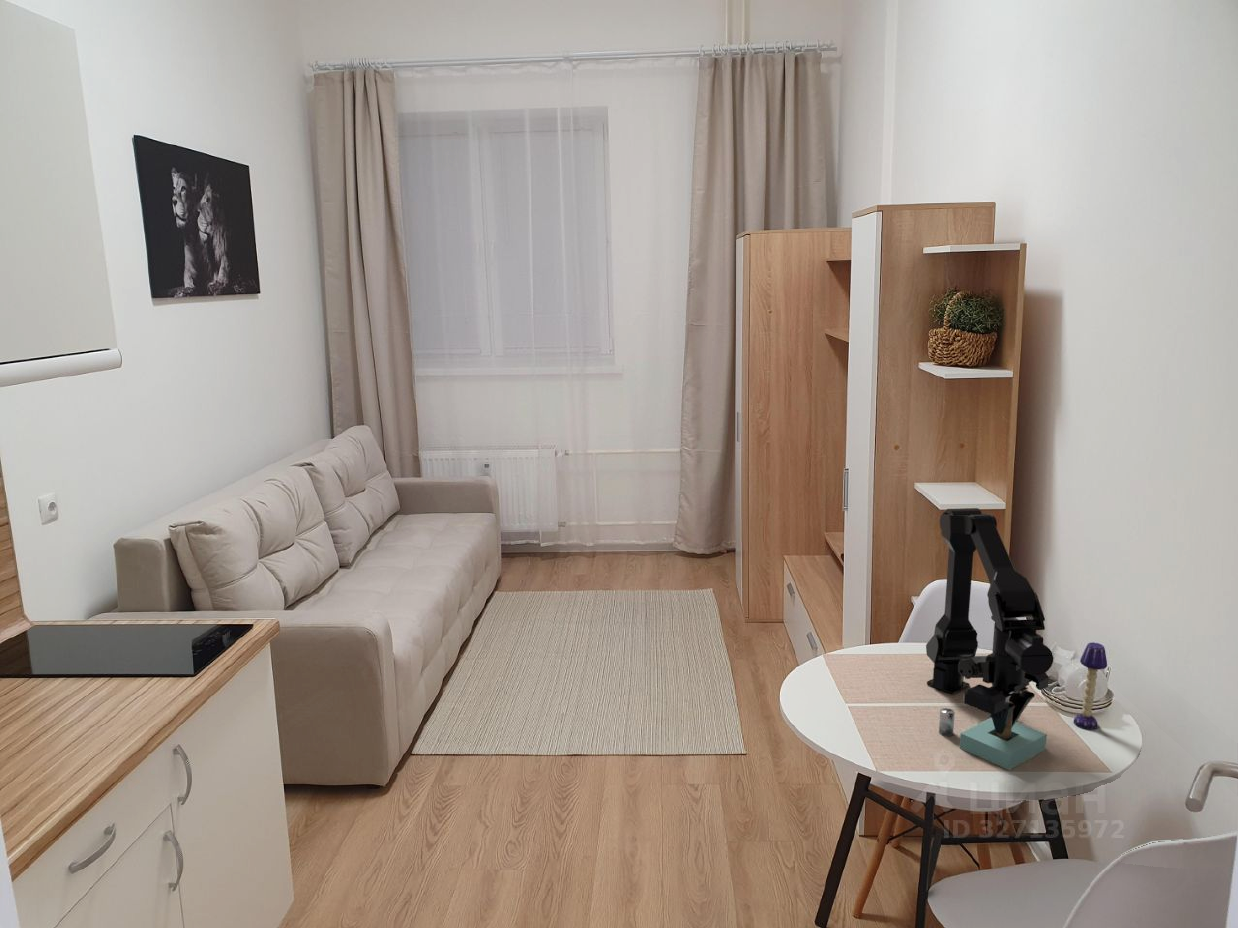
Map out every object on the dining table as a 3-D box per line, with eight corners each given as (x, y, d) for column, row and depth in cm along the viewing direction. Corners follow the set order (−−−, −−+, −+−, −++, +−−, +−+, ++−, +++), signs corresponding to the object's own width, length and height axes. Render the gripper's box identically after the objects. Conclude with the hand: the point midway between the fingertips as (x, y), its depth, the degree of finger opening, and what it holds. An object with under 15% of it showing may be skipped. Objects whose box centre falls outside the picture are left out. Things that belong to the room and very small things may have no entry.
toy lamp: (1099, 721, 184) (1106, 641, 180) (1102, 732, 180) (1110, 650, 176) (1072, 717, 185) (1079, 638, 182) (1075, 728, 181) (1082, 647, 178)
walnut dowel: (1000, 738, 176) (1003, 698, 174) (1013, 743, 174) (1016, 703, 172) (992, 742, 174) (995, 702, 173) (1005, 747, 172) (1008, 707, 171)
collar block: (996, 728, 182) (997, 714, 181) (1045, 748, 174) (1046, 734, 173) (959, 747, 175) (960, 733, 174) (1009, 769, 167) (1010, 754, 166)
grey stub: (944, 728, 182) (945, 706, 181) (956, 733, 180) (957, 711, 179) (936, 732, 181) (937, 710, 180) (947, 737, 179) (949, 715, 178)
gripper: (998, 626, 182) (992, 700, 185) (940, 650, 171) (935, 729, 175) (1053, 644, 173) (1046, 721, 177) (995, 671, 162) (989, 753, 166)
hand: (1003, 730), depth 174 cm, fingers closed on walnut dowel, 3 cm apart
